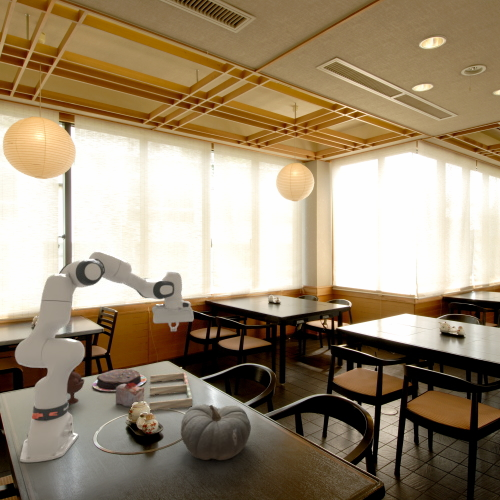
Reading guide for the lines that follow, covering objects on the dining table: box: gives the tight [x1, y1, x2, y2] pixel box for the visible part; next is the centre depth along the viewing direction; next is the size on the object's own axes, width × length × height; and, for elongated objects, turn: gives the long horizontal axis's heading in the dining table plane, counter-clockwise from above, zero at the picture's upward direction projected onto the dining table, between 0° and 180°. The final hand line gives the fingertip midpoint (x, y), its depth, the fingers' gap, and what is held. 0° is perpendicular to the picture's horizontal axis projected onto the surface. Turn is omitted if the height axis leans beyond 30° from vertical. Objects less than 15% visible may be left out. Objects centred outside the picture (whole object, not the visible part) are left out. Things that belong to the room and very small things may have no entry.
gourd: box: [180, 404, 252, 461], centre depth 141 cm, size 25×25×17 cm
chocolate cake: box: [92, 368, 147, 393], centre depth 212 cm, size 28×28×7 cm
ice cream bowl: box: [67, 370, 85, 405], centre depth 187 cm, size 11×11×15 cm
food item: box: [115, 383, 145, 408], centre depth 183 cm, size 14×8×10 cm, turn 64°
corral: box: [148, 371, 193, 411], centre depth 197 cm, size 40×19×4 cm, turn 14°
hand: (173, 331), depth 197 cm, fingers closed
